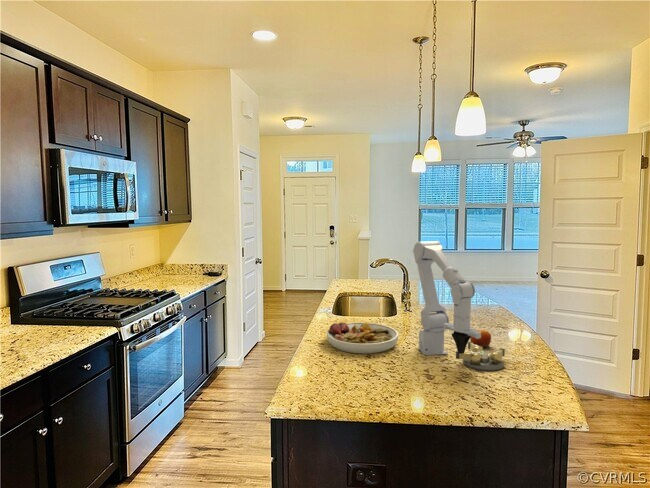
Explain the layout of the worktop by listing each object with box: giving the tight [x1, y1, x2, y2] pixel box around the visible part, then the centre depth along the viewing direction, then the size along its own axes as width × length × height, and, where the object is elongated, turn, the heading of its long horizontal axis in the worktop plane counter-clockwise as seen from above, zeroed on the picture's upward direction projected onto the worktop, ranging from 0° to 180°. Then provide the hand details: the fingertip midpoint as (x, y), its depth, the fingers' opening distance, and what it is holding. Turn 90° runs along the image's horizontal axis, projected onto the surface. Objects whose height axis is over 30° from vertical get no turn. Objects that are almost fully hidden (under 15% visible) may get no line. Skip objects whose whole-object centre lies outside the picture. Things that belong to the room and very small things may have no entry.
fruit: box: [469, 329, 492, 348], centre depth 170 cm, size 8×8×8 cm
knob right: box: [490, 347, 506, 364], centre depth 151 cm, size 9×4×4 cm, turn 139°
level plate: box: [462, 350, 505, 372], centre depth 151 cm, size 14×14×4 cm
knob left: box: [455, 350, 481, 364], centre depth 150 cm, size 9×4×4 cm, turn 58°
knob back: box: [467, 341, 484, 352], centre depth 158 cm, size 9×4×4 cm, turn 5°
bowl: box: [326, 322, 399, 355], centre depth 175 cm, size 30×30×8 cm
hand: (461, 352), depth 149 cm, fingers closed
